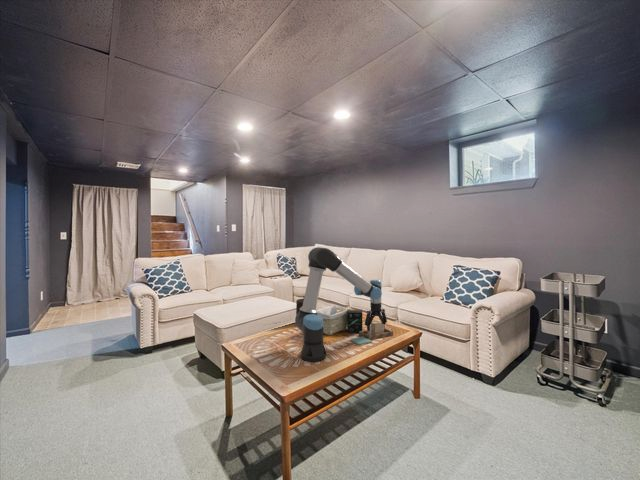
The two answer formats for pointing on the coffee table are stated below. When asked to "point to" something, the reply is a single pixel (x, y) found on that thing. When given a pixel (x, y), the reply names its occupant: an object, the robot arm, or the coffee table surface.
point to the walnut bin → (376, 334)
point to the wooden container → (299, 304)
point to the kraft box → (375, 328)
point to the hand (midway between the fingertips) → (376, 334)
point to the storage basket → (333, 319)
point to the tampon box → (354, 320)
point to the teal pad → (361, 340)
